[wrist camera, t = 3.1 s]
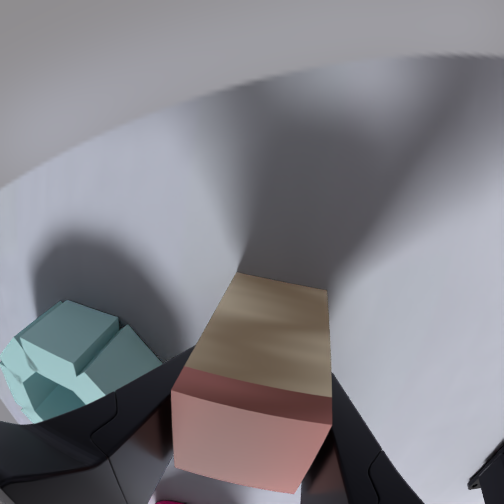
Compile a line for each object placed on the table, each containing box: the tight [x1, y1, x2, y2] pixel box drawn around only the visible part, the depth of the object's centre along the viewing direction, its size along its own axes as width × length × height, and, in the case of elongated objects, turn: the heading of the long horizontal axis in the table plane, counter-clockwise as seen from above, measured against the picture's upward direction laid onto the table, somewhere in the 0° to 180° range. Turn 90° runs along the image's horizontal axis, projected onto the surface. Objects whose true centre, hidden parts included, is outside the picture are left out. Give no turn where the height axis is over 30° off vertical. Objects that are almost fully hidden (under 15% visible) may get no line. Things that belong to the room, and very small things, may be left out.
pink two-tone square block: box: [171, 272, 332, 494], centre depth 9 cm, size 3×3×6 cm
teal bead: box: [0, 300, 163, 424], centre depth 13 cm, size 9×9×4 cm
